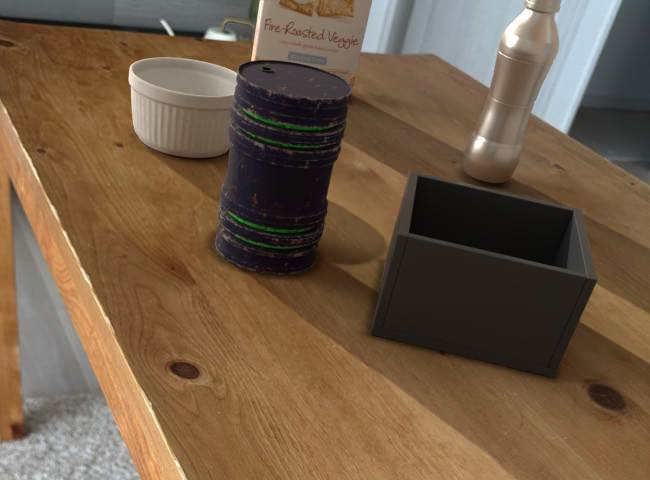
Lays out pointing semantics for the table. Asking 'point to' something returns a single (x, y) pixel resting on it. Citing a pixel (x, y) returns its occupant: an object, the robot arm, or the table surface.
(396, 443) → the table surface
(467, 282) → the bin
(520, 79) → the silver metal bottle
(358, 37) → the cracker box
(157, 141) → the ramekin
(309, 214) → the storage jar
